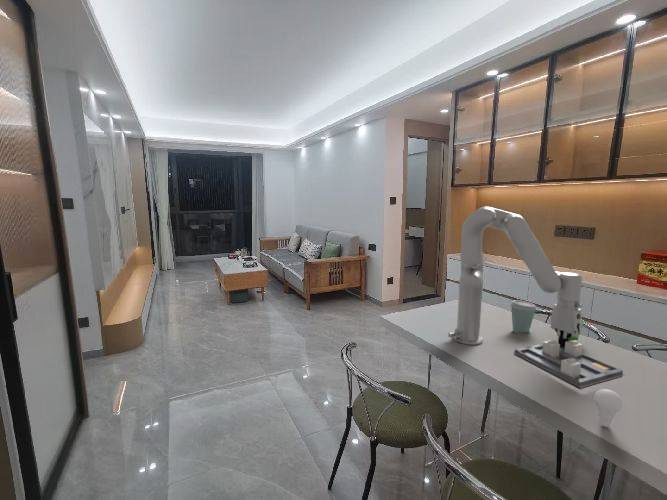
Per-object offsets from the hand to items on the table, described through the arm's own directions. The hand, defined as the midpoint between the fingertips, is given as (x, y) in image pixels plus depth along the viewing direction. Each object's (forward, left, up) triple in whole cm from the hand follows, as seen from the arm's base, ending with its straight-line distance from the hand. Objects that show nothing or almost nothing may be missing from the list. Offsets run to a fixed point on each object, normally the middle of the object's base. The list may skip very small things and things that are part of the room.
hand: (562, 346), depth 137 cm
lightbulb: (-31, -35, -4) cm, 47 cm away
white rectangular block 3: (0, -4, -2) cm, 5 cm away
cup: (+11, +5, -4) cm, 13 cm away
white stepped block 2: (-16, -14, -2) cm, 22 cm away
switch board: (-8, -7, -3) cm, 11 cm away
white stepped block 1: (-8, -1, -2) cm, 8 cm away
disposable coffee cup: (+3, +22, -4) cm, 23 cm away
